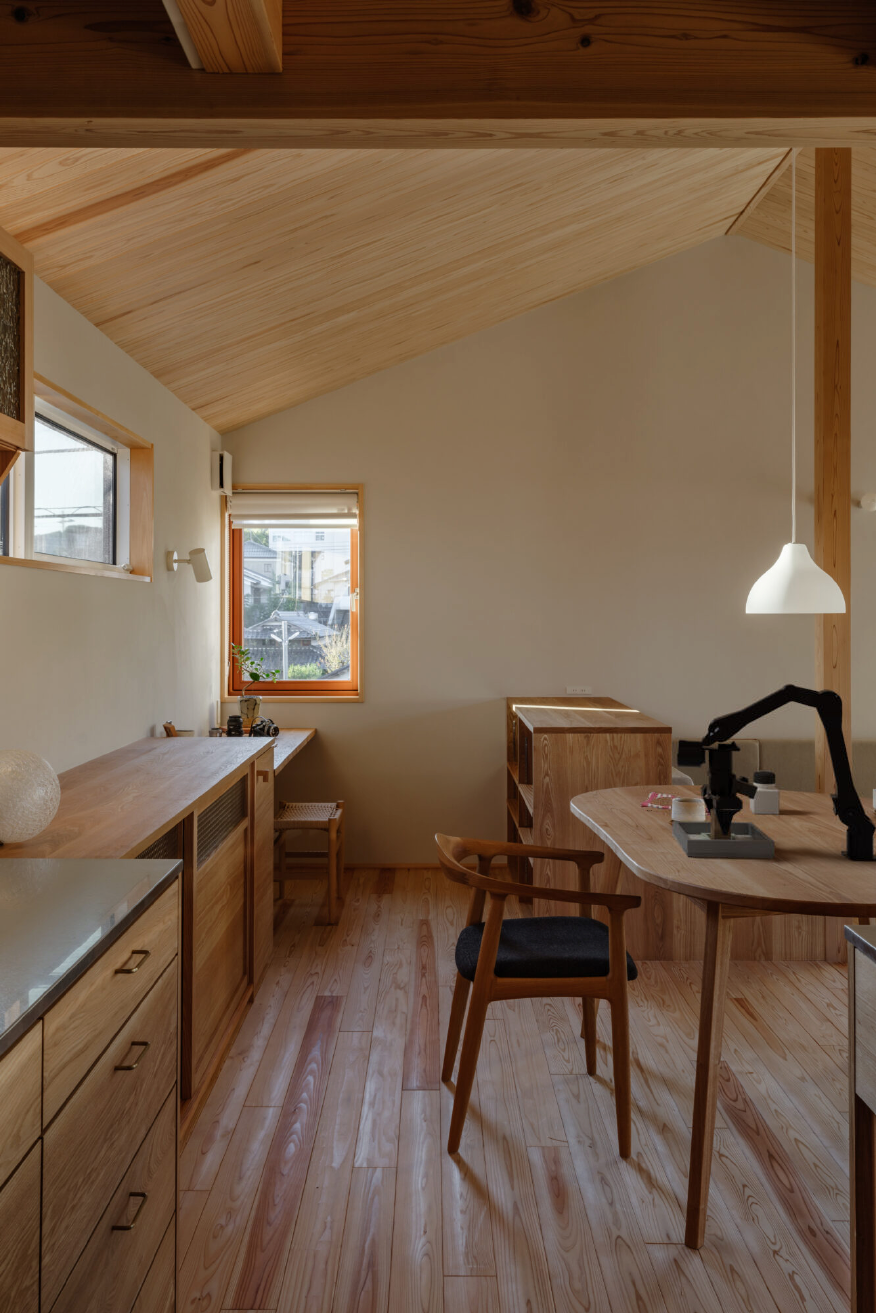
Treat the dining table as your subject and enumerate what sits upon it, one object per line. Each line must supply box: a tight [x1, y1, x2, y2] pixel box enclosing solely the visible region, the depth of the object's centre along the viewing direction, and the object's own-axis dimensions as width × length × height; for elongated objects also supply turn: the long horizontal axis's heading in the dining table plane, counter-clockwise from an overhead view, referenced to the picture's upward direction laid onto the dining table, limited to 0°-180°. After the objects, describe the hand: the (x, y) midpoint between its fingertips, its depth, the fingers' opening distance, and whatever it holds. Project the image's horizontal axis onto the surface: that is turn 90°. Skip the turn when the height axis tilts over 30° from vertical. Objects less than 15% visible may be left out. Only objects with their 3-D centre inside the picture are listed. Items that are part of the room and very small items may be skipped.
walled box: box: [672, 821, 775, 859], centre depth 208 cm, size 20×20×4 cm
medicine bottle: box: [749, 770, 780, 816], centre depth 248 cm, size 7×7×12 cm
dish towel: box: [640, 791, 710, 816], centre depth 255 cm, size 17×23×4 cm
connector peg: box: [710, 809, 731, 840], centre depth 208 cm, size 4×4×8 cm
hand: (720, 830), depth 208 cm, fingers open, 9 cm apart
